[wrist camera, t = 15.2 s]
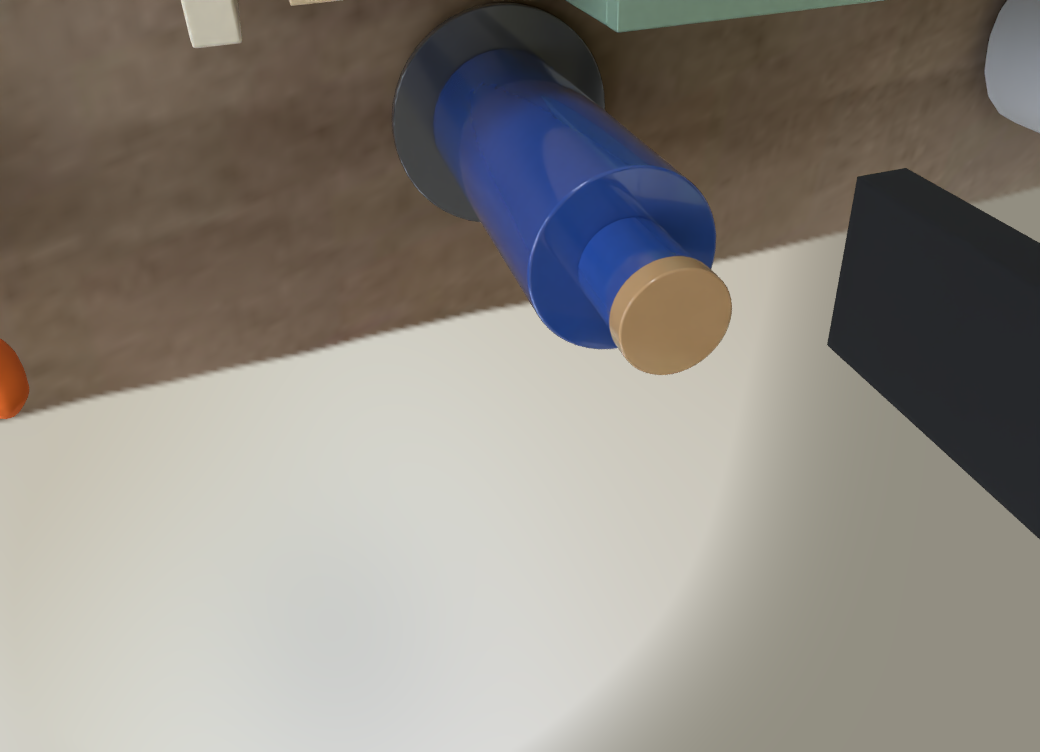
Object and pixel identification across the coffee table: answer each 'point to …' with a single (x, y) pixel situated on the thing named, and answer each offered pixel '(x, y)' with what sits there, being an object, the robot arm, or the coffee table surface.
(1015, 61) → the can
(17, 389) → the duckling
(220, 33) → the drawer
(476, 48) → the coaster
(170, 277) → the coffee table surface
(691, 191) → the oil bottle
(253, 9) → the coffee table surface
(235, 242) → the coffee table surface
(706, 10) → the cabinet
